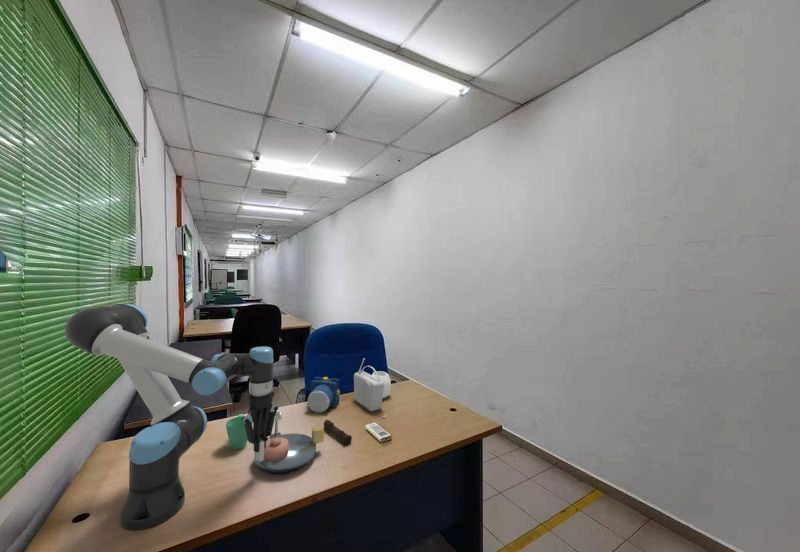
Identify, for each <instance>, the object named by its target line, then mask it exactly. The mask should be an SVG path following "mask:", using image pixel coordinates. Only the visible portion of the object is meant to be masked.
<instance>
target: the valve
mask: <svg viewBox="0 0 800 552" xmlns="http://www.w3.org/2000/svg"><path fill="white" fill-rule="evenodd" d="M339 386H340V379H339V378H329V377H328V376H324V377H321V376H315V377H314V380H311V381H310V390H311V391H310V394H309V395H308V397H307V405H308V407H309V409H310V410H311V411H312V412H314V413H317V414H318V413H324V412H325V411H326V410H328V408H337V404H339V403H340V393H341V391H340V389H339Z"/></svg>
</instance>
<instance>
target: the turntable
mask: <svg viewBox="0 0 800 552" xmlns="http://www.w3.org/2000/svg"><path fill="white" fill-rule="evenodd" d="M276 437H278V438H285V439H287V440H288V442H289V444H288V455H287V456H286V457H285V458H284V459H282V460H280V461H277V462H266V461H264V460H262V461H261V462H260V461H258V460H256V459H255V458H254V464H255V465H256V467H258V468H259V469H261V470H262V471H263V470H265V471H270V472H284V471H290V470H293V469H296V468H299V467H301V466H303V465H305V464H307V465H308V464H309V462H310V461H312V460H313V458H314V457H315V455H316V453H317V444H320V443H324V441H325V429H324V426H322V425H321V426H315V427H312V428H311V436H308V435H307V434H303V433H284V434H281V435H279V436H275V437H273V438H276ZM273 438H270V437H269V438H268V440H270V439H273ZM305 466H306V465H305Z"/></svg>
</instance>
